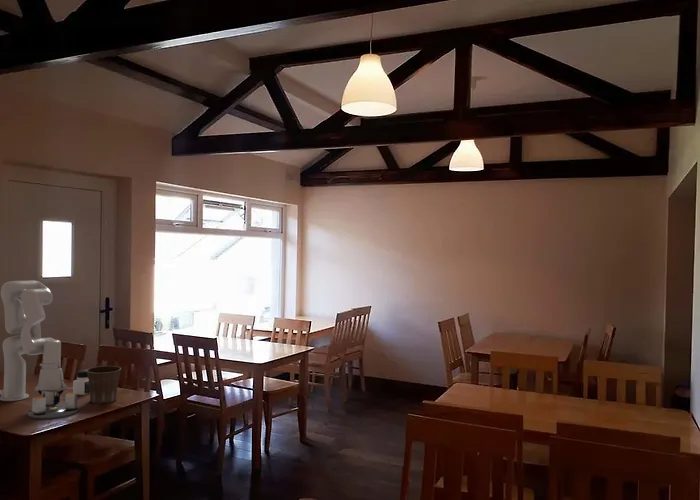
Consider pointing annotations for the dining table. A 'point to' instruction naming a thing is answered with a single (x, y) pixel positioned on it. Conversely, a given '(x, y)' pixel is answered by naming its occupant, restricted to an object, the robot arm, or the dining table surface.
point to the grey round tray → (53, 412)
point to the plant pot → (103, 383)
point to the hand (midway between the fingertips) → (50, 403)
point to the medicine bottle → (81, 383)
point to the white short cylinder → (71, 401)
